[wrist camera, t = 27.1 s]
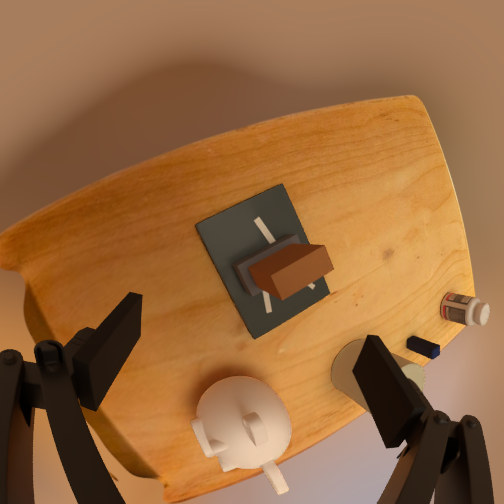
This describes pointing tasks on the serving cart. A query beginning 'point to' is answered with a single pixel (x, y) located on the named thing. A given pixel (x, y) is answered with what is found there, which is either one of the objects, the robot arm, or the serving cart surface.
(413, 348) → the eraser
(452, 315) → the pill bottle
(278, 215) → the slate board
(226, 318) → the serving cart surface
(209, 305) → the serving cart surface
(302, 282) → the chalk eraser
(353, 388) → the can
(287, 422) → the piggy bank
